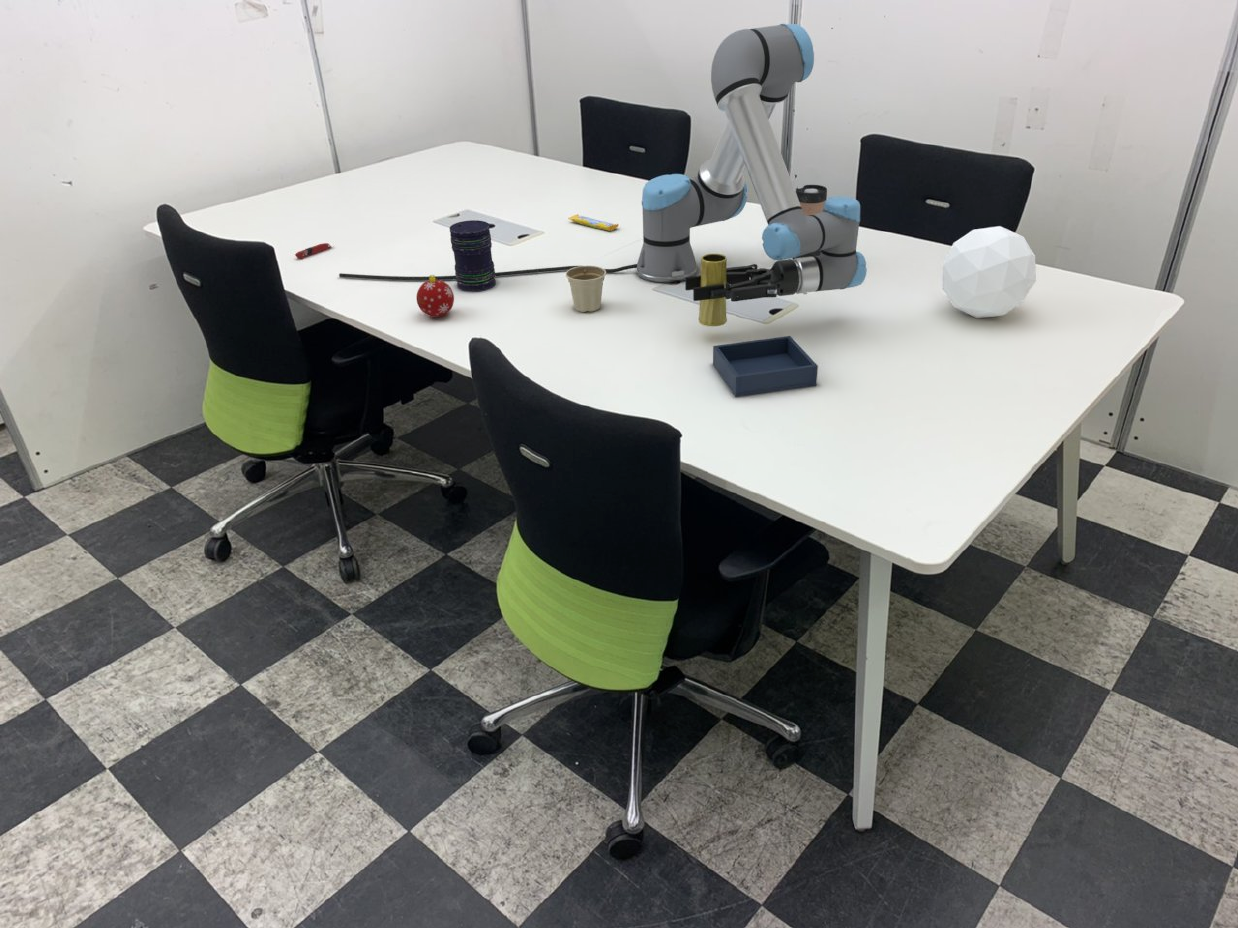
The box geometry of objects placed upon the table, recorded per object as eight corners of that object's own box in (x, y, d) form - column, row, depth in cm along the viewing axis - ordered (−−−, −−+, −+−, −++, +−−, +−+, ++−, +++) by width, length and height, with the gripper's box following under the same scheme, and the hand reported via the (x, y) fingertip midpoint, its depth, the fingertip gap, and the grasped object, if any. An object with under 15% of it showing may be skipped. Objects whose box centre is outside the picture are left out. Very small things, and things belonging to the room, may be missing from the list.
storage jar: (503, 280, 237) (497, 222, 229) (483, 294, 229) (475, 235, 221) (470, 275, 240) (463, 218, 232) (449, 289, 233) (440, 230, 225)
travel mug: (822, 273, 232) (828, 193, 222) (791, 273, 233) (795, 193, 223) (821, 262, 238) (827, 184, 228) (791, 262, 240) (795, 184, 229)
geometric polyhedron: (981, 350, 208) (979, 302, 191) (926, 293, 218) (919, 243, 201) (1055, 301, 206) (1059, 248, 189) (995, 246, 217) (994, 191, 200)
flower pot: (613, 301, 222) (611, 267, 217) (599, 317, 215) (597, 281, 210) (576, 298, 225) (574, 264, 220) (562, 313, 217) (559, 278, 213)
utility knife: (297, 260, 255) (296, 253, 254) (295, 259, 256) (293, 252, 255) (332, 248, 263) (331, 241, 262) (330, 247, 263) (328, 240, 262)
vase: (696, 316, 203) (697, 253, 196) (724, 314, 204) (726, 251, 196) (700, 327, 198) (701, 263, 191) (729, 326, 199) (731, 262, 191)
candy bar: (620, 229, 267) (620, 222, 266) (611, 233, 265) (611, 226, 264) (577, 219, 277) (577, 212, 276) (568, 222, 274) (567, 216, 273)
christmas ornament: (415, 312, 221) (409, 272, 216) (451, 305, 224) (445, 266, 218) (424, 325, 214) (417, 284, 209) (460, 318, 217) (454, 277, 212)
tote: (735, 397, 180) (736, 377, 177) (712, 364, 192) (713, 345, 189) (816, 385, 182) (818, 365, 180) (788, 354, 194) (790, 335, 192)
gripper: (809, 309, 194) (702, 322, 190) (777, 278, 209) (677, 289, 205) (811, 275, 190) (702, 288, 186) (779, 245, 205) (677, 257, 201)
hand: (689, 289), depth 196 cm, fingers closed on vase, 5 cm apart
